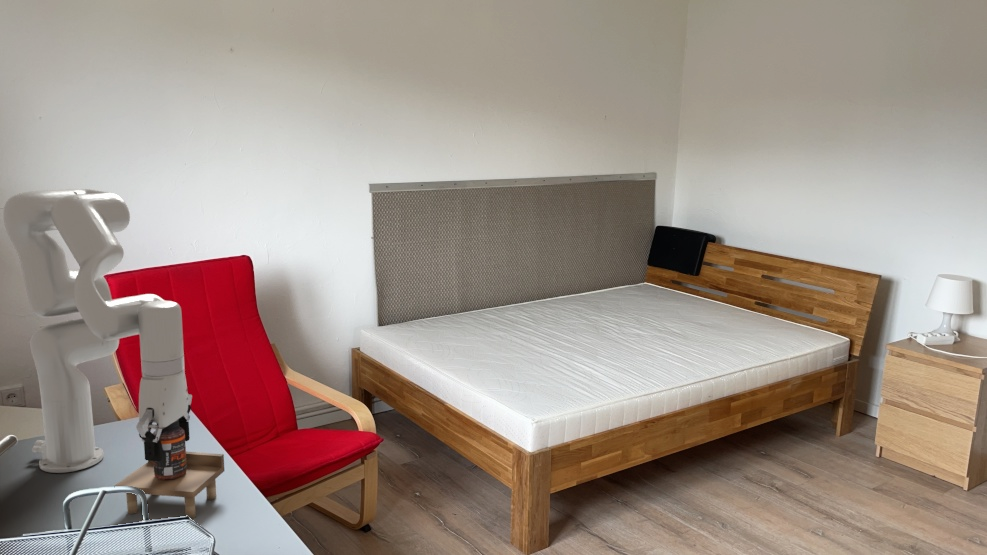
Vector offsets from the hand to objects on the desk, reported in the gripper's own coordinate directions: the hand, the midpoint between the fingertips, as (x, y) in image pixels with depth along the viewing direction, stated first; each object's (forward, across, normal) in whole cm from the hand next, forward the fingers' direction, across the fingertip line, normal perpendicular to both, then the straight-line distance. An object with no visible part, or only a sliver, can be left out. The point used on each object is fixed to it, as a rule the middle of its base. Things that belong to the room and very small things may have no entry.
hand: (168, 449), depth 150 cm
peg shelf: (+11, 0, 0) cm, 11 cm away
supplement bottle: (+5, 0, 0) cm, 5 cm away
